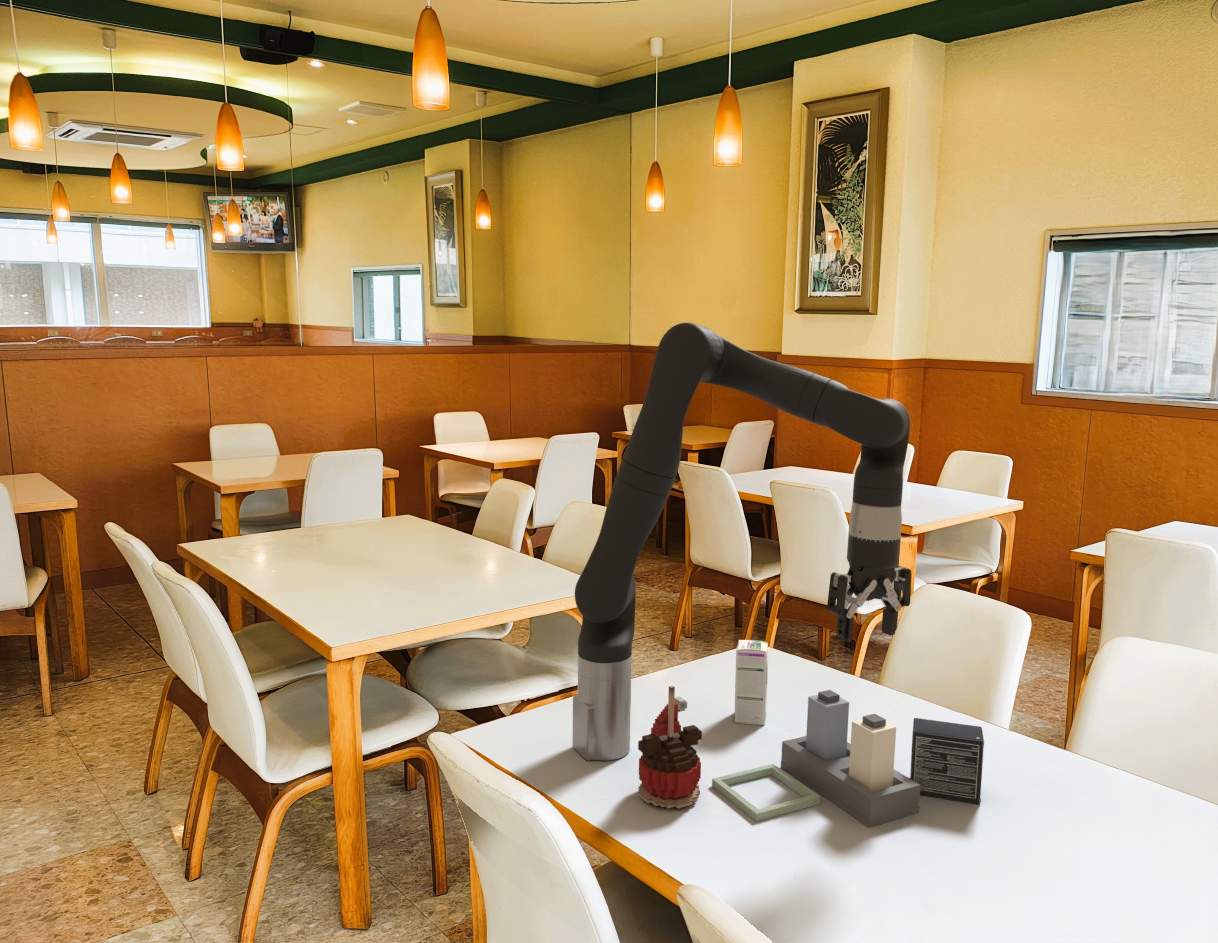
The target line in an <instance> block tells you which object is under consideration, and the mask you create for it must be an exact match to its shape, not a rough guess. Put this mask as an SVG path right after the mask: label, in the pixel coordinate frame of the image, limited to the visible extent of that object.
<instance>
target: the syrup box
mask: <svg viewBox="0 0 1218 943" xmlns="http://www.w3.org/2000/svg"><path fill="white" fill-rule="evenodd" d="M768 645H769V643H768V641H764V640H758V639H757V640H756V639H738V642H737V645H736V649H735V652H736V653H735V681H734V682H735V686H734V688H735V692H734V723H736V724H744V725H745V724H747V725H757V726H765V724H766V718H767V703H768V702H767V701H768V698H767V697H768V668H769V666H768V665H769V664H768V662H769V660H768V657H769V656H768V654H769V649H768V648H769V646H768Z"/></svg>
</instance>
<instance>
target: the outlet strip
mask: <svg viewBox="0 0 1218 943" xmlns="http://www.w3.org/2000/svg"><path fill="white" fill-rule="evenodd" d="M850 747H851V742H850V743H849V742H848V741H847V751H846V757H844V758H840V759H836V760H832V761H828V762H826V761H824V760H822V759H821V758H819V757H818V756H816V755H815V754H813V753H811V752H810V751H808V750H807V749H806V735H804V736H801V737H796V738H795V737H794V738H792V739H787V740H783V741H782V742H781V759H780V760H781V761H780V769H782V770H783V771H786V773H788V774H789V775H791V776H792V777H793V778H794V777H795V779H796V780H797V779H798V781H799V782H801V783H802V784H804V785H806V786H807V787H809V789H811V790H812V791H815V793H818V795H820V796H822V797H824V798H825V799H827V800H828V801H829V802H831V803H833V804H834V805H835V806H837V807H838V808H840V809H841V810H843V811H844V812H846V813H847V814H848V815H850V816H851V817H852V818H854V819H856V820H857V821H859V822H860V823H862V824H863V825H864V826H866V827H867V828H871V827H875V826H878V825H882V824H886V823H888V822H892V821H896V820H898V819H902V818H905V817H909V816H911V815H915V814H918V813H919V812H920V797H921V795H920V784H918V783H916V782H915V781H913V780H911V779H910V778H909V777H908V776H907V775H904V774H902V773H901V772H900V771H898V770H896V769H894V771H893V786H891V787H888V788H884V789H881V790H877V791H871V790H870V789H868V788H867V787H865V786H864V785H862V784H860V783H859V782H857V781H856V780H854V779H852V778H851V777H849V765H850Z"/></svg>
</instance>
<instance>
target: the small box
mask: <svg viewBox="0 0 1218 943" xmlns="http://www.w3.org/2000/svg"><path fill="white" fill-rule="evenodd" d="M984 747H985V740H984V733H983V727H982V726H978V725H971V724H963V723H956V722H955V723H954V722H949V721H948V722H947V721H940V720H933V719H925V718H920V717H914V718H913V726H912V737H911V756H910V774H909V775H910V776H909V777H910V779H911V780H913V781H915V782H916V783H918V784H920V796H925V797H932V798H937V799H938V798H939V799H943V800H944V799H945V800H951V801H958V802H963V803H969V804H974V805H975V804H976V805H980V804H981V802H982V798H981V797H982V796H981V793H982V792H981V790H982V779H983V778H982V777H983V762H984V761H983V760H984Z"/></svg>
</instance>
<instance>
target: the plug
mask: <svg viewBox="0 0 1218 943" xmlns="http://www.w3.org/2000/svg"><path fill="white" fill-rule="evenodd" d="M850 735H851V736H850V744H851V747H850V765H849V777H851V778H852V779H854V780H856V781H857V782H859V783H860V784H862V785H864V786H865V787H867V788H868V789H870V790H871V791H877V790H881V789H884V788H888V787H891V786H893V771H894V770H895V769H894V768H895V767H894V766H895V754H896V740H897V739H896V738H897V736H896V735H897V726H895V725H893V724H891V723H889V722H887V719H886V718H884V717H882V716H880V715H878V714H877V713H872V714H867V715H863V716H862V718H859V719H855V720H852V721H851V733H850Z"/></svg>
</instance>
